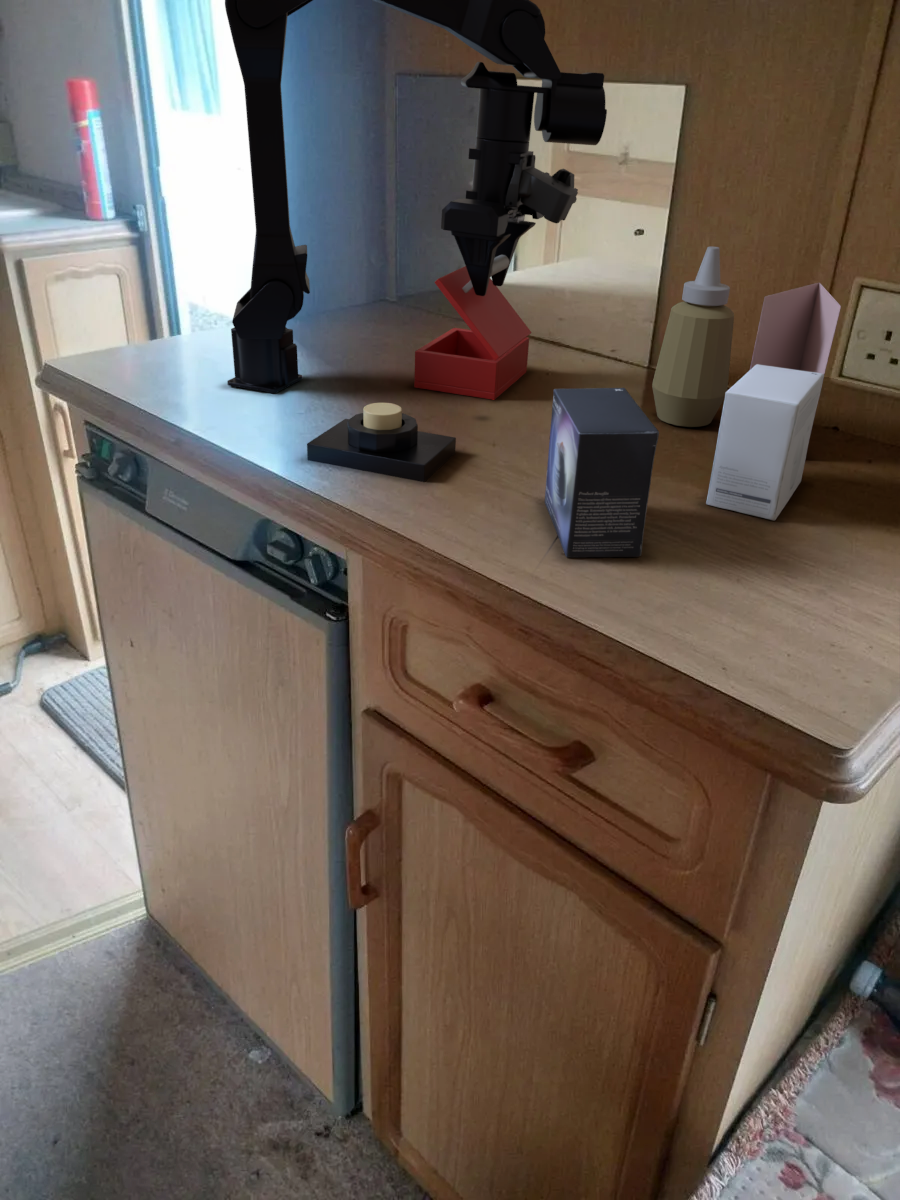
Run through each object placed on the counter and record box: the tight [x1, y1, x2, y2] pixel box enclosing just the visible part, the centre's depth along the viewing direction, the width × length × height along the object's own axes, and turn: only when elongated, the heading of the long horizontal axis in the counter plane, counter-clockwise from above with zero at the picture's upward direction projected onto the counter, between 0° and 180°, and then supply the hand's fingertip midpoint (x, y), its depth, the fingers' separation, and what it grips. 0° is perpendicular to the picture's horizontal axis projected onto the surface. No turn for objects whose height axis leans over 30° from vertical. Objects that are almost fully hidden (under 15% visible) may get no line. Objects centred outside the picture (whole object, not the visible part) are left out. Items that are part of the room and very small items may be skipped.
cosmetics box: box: [705, 364, 825, 521], centre depth 81 cm, size 10×6×10 cm, turn 150°
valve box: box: [413, 327, 530, 401], centre depth 110 cm, size 10×13×4 cm
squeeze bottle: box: [651, 246, 735, 428], centre depth 96 cm, size 8×8×18 cm
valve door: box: [434, 255, 532, 361], centre depth 105 cm, size 11×13×5 cm
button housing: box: [306, 412, 457, 483], centre depth 87 cm, size 12×8×4 cm, turn 69°
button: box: [362, 402, 403, 430], centre depth 86 cm, size 4×4×2 cm
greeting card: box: [749, 282, 842, 375], centre depth 92 cm, size 11×7×15 cm, turn 135°
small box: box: [544, 387, 660, 558], centre depth 73 cm, size 11×6×10 cm, turn 5°
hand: (489, 290), depth 105 cm, fingers closed on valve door, 6 cm apart
